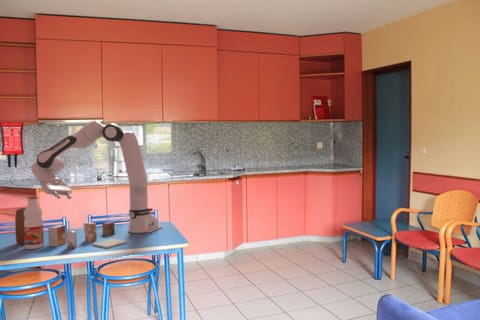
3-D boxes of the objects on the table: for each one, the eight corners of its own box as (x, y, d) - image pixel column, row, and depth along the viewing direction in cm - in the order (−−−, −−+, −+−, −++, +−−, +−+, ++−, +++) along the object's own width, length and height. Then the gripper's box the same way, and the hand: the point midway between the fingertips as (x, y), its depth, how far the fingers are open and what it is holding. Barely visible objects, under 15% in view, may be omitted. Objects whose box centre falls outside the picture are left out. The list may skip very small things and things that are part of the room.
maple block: (91, 239, 246) (91, 222, 245) (96, 240, 243) (96, 223, 242) (85, 240, 242) (84, 223, 241) (90, 241, 239) (89, 224, 239)
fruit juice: (47, 245, 231) (45, 195, 229) (33, 250, 222) (31, 198, 221) (35, 244, 235) (33, 195, 233) (20, 248, 226) (18, 197, 224)
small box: (57, 246, 229) (56, 227, 228) (48, 246, 230) (47, 227, 230) (66, 243, 237) (65, 224, 236) (57, 242, 238) (57, 224, 237)
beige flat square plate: (113, 240, 242) (113, 238, 242) (127, 242, 236) (127, 241, 236) (92, 245, 231) (92, 243, 231) (107, 248, 224) (107, 246, 224)
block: (28, 245, 234) (27, 209, 232) (14, 245, 233) (13, 210, 232) (36, 240, 244) (35, 206, 243) (23, 240, 244) (21, 206, 243)
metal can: (73, 246, 230) (72, 230, 229) (78, 247, 227) (78, 231, 227) (64, 248, 226) (64, 231, 225) (70, 249, 223) (69, 233, 222)
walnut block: (109, 232, 261) (109, 221, 261) (114, 233, 259) (114, 222, 258) (102, 234, 257) (102, 223, 257) (108, 235, 255) (107, 224, 254)
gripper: (42, 177, 239) (56, 193, 236) (65, 180, 259) (79, 194, 255) (35, 185, 240) (49, 201, 236) (59, 187, 260) (72, 202, 256)
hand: (65, 198), depth 246 cm, fingers open, 8 cm apart
